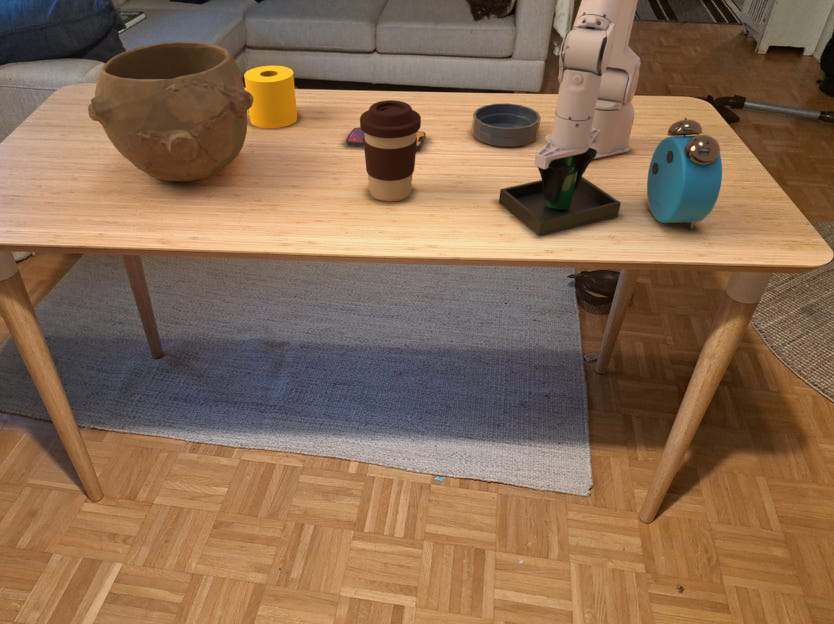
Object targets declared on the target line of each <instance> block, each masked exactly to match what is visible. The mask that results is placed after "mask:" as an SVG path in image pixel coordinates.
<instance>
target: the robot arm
mask: <svg viewBox="0 0 834 624" xmlns="http://www.w3.org/2000/svg"><path fill="white" fill-rule="evenodd" d="M638 2H639V0H581V2H580V5H579V7H578V11H577V14H576V16H575V20H574V23H573V25H572V29H571V30H570V29H567V30H566V31H565V33H564V35H563V40H562V42H561V46H560V51H559V60H558V69H559V70H558V77H557V78H558V79H557V82H558V83H559V88H558V93H557V98H556V99H557V100H556V106H555V112H554V118H553V124H552V131H551V133H549V134H547V135H545V138H544V141H545V142H546V143H545V145H544V146H543V148H542V149H540V151H539V152H537V153H535V158H534V164H533V165H534V166H535V167H537V170H538V172H539V174H540V178H541V180H542V183H543V192H544V200H547V201H549V202H551V203H556V202H557V201H558V198H559V196H560V193H561V189H562V186H563V183H564V180H565V178H566V176H567V175H568V173H569V171H570V170H571V169H572V167H571V166H569V165H566V164H563V163H564V161H562V158H563V157H568V156H573V155H574V156H573V161H572V163H574V165H575V167H576V168H577V170H578V173H577V178H576V183H575V188H574V192H575V190H576V188H577V186H578V184H579V182H580V180H581V177H583V175H584V173H585V171H586V170H587V168H588V167H589V166H590V164H591V162H592V161H593V160H597V159H600V158H606V157H610V156H614V155H619V154H623V153H624V154H625V153H628V152H630V151H631V149H630V148H629V147H628V145H629V143H630V142H629V141H630V137H631V133H632V129H633V126H634V125H633V124H634V120H635V108H634V106H633V103H632V101H633V99H634V97H635V93H636V91H637V87H638V82H639V78H640V68H641V63H642V62H641V58H640V56H639V55H638V54H637V53H636V52H634V51H633V49H632V48H631V47H630V46H629V42H630V38H631V35H632V28H633V25H634V20H635V16H636V11H637V6H638Z"/></svg>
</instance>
